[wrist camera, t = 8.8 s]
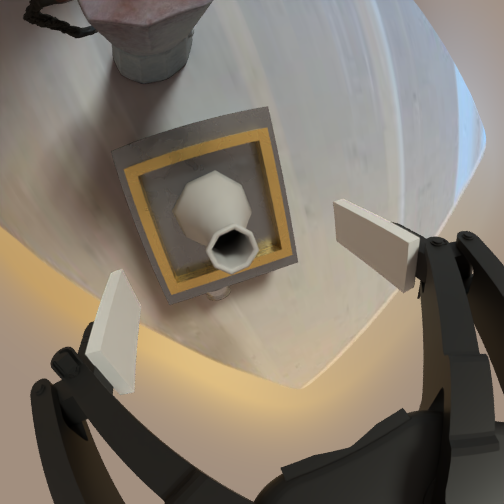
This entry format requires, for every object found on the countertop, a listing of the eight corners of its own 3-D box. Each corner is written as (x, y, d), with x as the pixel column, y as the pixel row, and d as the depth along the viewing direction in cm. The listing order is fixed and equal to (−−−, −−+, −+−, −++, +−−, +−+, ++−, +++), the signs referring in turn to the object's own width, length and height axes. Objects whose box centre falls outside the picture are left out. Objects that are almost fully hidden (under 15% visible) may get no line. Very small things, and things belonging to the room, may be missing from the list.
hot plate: (123, 149, 26) (106, 152, 19) (251, 112, 28) (273, 104, 22) (175, 293, 35) (177, 329, 28) (282, 258, 37) (306, 285, 30)
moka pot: (222, 76, 26) (292, -4, 8) (89, 106, 23) (-18, 76, 5) (213, 10, 22) (264, -99, 4) (85, 37, 19) (9, -41, 1)
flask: (158, 210, 24) (149, 252, 15) (215, 156, 24) (239, 166, 15) (210, 259, 28) (228, 318, 19) (263, 210, 27) (308, 249, 18)
